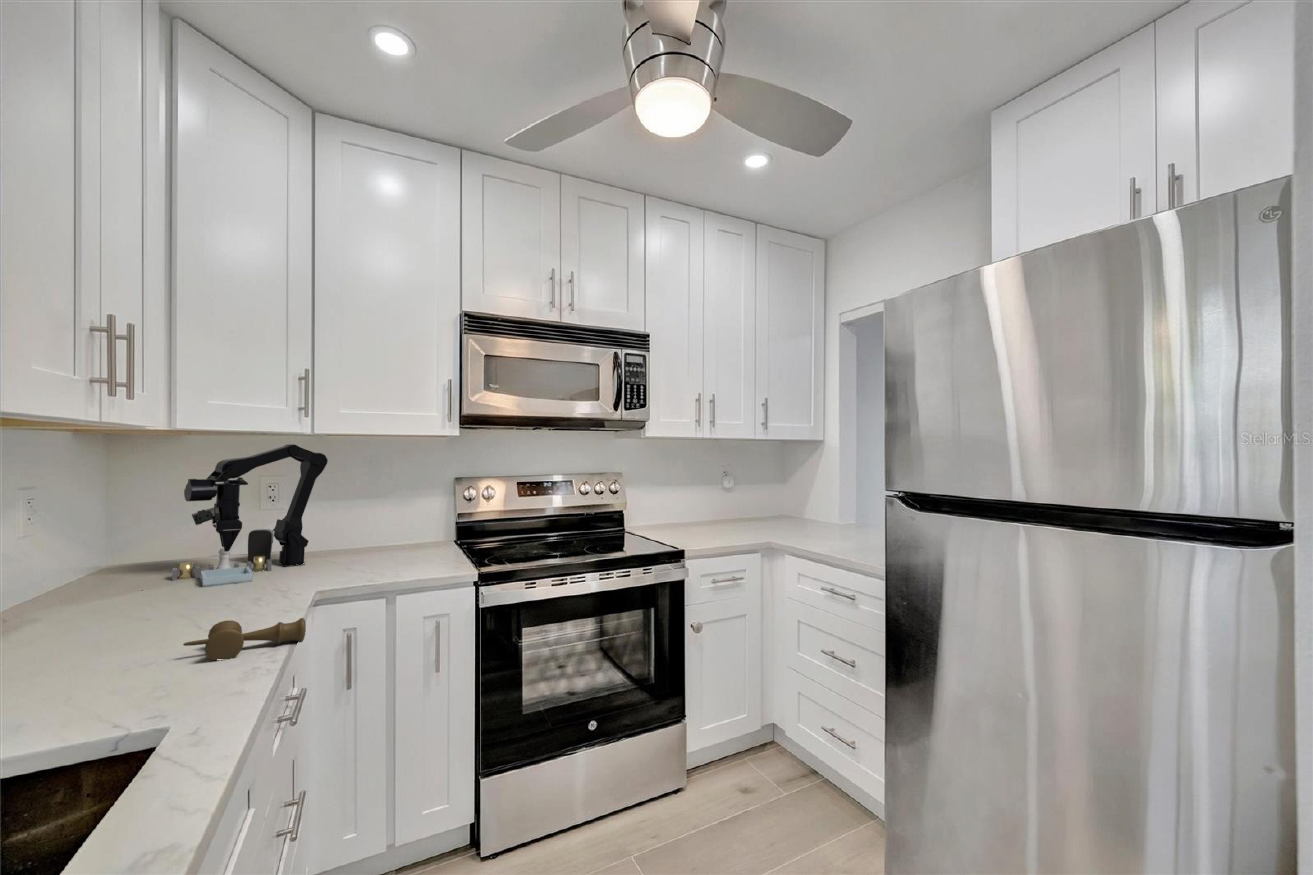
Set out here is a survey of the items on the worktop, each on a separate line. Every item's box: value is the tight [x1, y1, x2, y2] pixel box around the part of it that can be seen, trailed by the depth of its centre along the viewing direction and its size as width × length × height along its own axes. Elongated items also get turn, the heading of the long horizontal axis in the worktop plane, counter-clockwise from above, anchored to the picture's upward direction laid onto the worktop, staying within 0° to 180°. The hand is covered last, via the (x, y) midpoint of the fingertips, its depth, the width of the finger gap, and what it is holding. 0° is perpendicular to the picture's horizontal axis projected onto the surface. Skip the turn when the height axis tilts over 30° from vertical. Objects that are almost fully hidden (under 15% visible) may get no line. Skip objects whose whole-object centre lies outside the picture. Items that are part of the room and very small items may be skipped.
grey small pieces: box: [171, 559, 273, 581], centre depth 171 cm, size 24×4×3 cm, turn 133°
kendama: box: [183, 617, 307, 661], centre depth 111 cm, size 6×10×20 cm
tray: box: [200, 566, 254, 588], centre depth 163 cm, size 12×12×2 cm
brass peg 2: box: [252, 556, 266, 573], centre depth 177 cm, size 3×3×4 cm
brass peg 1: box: [178, 561, 194, 580], centre depth 165 cm, size 3×3×4 cm
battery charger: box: [246, 528, 274, 564], centre depth 189 cm, size 7×4×11 cm, turn 113°
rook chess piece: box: [215, 547, 233, 570], centre depth 171 cm, size 4×4×8 cm
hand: (225, 549), depth 171 cm, fingers open, 9 cm apart
